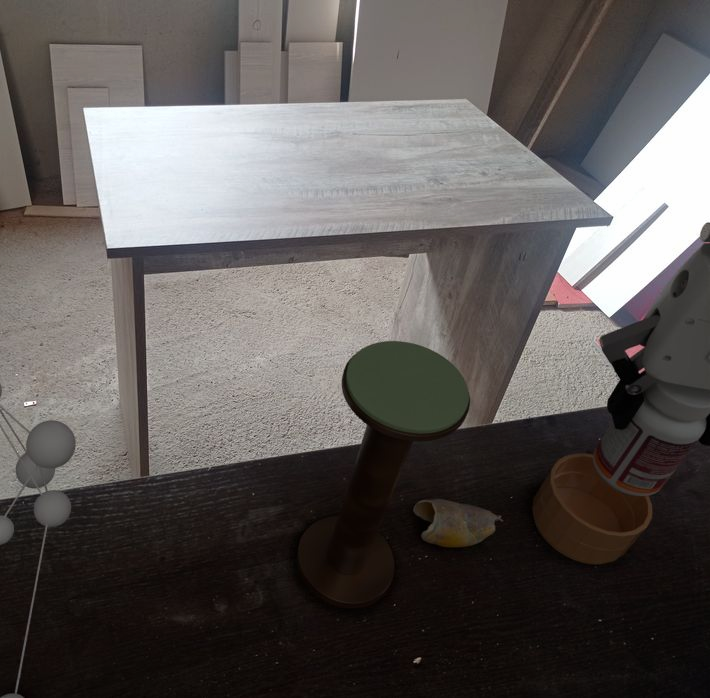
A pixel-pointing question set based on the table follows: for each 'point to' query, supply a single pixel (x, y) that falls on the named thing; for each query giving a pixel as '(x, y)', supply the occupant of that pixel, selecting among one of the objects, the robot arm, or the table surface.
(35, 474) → the molecule model
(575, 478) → the bowl
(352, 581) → the stand
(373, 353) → the coaster
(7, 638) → the table surface
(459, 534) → the cream hollow shell
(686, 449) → the pill bottle
